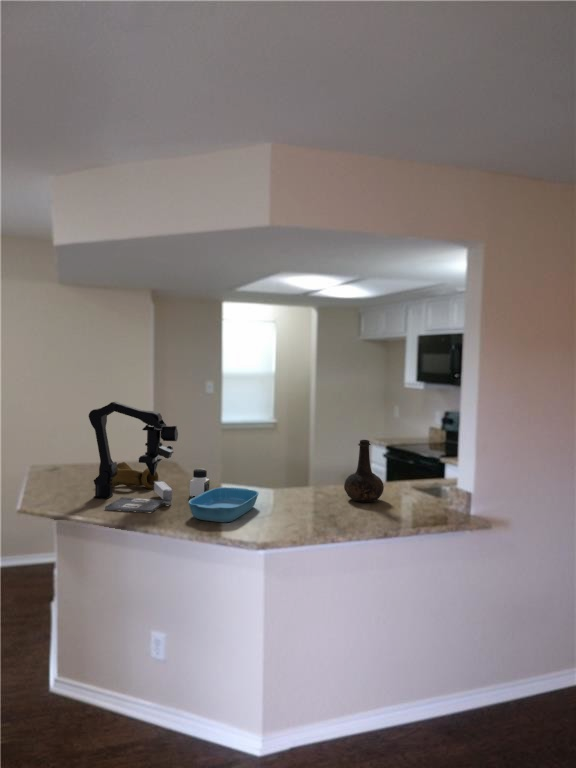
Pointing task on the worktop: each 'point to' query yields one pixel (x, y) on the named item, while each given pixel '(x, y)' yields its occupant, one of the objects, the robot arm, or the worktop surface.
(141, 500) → the label board
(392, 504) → the worktop surface
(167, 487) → the swing arm
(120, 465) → the brown looped sculpture
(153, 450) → the robot arm
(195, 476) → the medicine bottle
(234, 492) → the casserole dish
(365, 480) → the glass bottle
